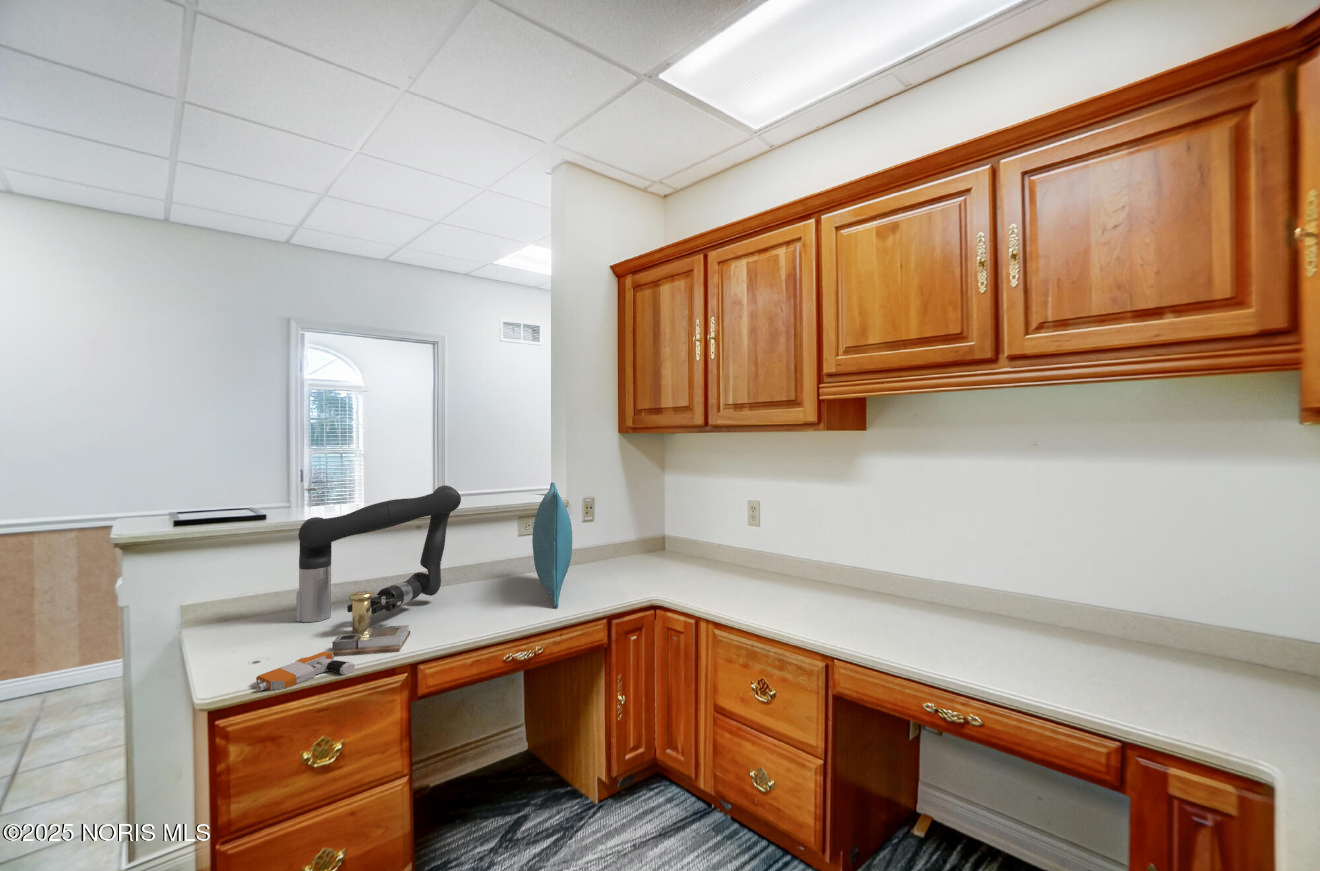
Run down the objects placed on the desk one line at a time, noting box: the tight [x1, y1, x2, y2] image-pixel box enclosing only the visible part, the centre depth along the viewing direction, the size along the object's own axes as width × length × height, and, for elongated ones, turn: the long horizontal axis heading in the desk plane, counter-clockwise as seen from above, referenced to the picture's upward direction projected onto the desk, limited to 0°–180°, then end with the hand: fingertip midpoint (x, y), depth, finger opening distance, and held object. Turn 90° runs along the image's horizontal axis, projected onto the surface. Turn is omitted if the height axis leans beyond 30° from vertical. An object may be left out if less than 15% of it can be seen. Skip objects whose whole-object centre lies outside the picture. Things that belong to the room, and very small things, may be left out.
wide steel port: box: [358, 624, 410, 649], centre depth 168 cm, size 11×11×2 cm
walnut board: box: [329, 630, 411, 657], centre depth 168 cm, size 18×15×1 cm
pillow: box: [531, 481, 573, 609], centre depth 224 cm, size 43×15×42 cm, turn 12°
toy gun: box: [255, 651, 356, 692], centre depth 145 cm, size 3×19×15 cm
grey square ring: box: [331, 633, 363, 651], centre depth 164 cm, size 6×6×2 cm
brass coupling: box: [349, 590, 374, 634], centre depth 179 cm, size 6×6×12 cm
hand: (360, 610), depth 178 cm, fingers open, 8 cm apart
